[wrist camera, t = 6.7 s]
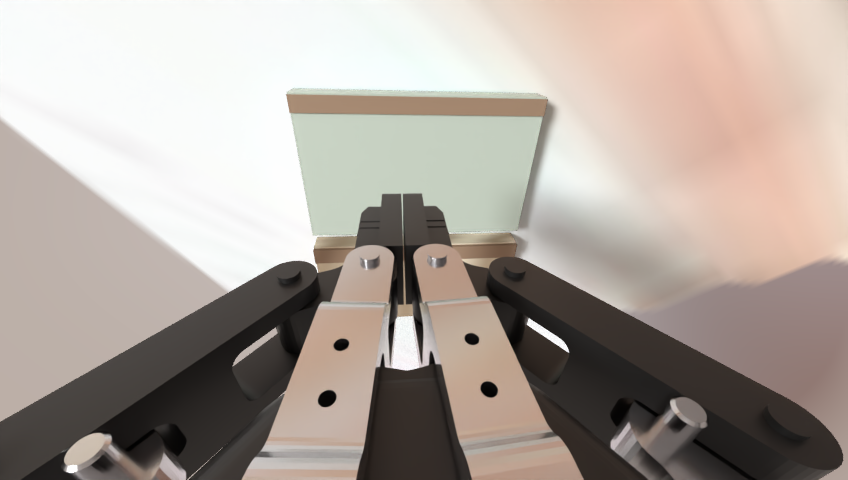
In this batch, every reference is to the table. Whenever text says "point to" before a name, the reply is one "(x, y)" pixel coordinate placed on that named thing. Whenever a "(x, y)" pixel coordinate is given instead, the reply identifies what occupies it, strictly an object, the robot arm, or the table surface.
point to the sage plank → (415, 153)
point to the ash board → (469, 246)
